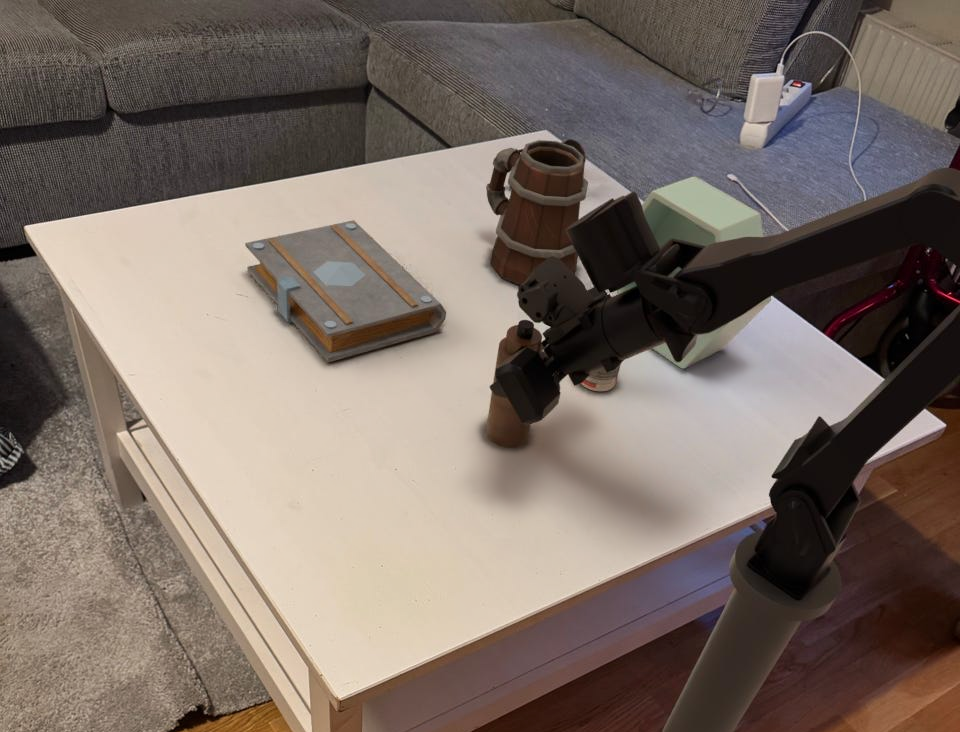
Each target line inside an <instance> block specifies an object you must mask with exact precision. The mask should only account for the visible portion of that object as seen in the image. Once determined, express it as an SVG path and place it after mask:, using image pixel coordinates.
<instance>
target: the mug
mask: <svg viewBox="0 0 960 732" xmlns="http://www.w3.org/2000/svg"><path fill="white" fill-rule="evenodd" d="M522 149H523V150H522V152H520V151H519V150H520V149H518V148H513V147H508V148H504V149H501V150H500V151H499V152H498V153H497V154H496V156H495V157H494V158H493V161H492V166H493V169H492V173H491V176H490V181H489V183H487V184H486V187H485V188H486V197H487V202H488V204H489V206H490V208H491V210H492V212H493V214H494V215H496V216H499V219H498V221H497V225H496V228H495V234H496V238H495V241H494V244H493V247H492V251H491V255H490V263H489V264H490V265H491V266H492V268H493V269H494V270H495V271H496V272H497V273H498V275H500V277H501V278H502V279H504V280H507V281H508V282H512V283H514V284H517V285H519V286H520V285H521V284H523V283H524V282H525V281H526V280H527V278H528V277H529V276H530V274H531V273H532V272H533V270H534V269H535V268H536V267H538V266H539V265H540V264H541V263H543V262H544V261H545V260H546V259H548V258H549V257H551V256H554V257H557V258H559V259H560V260H561V261H562V262H563V263H564V264H565V265H566V266H567V267H568V268H569V269H570V270H571V271H572V272H573V273H574V274H575V275H576V269H577V265H578V260H579V256H578V254H577V252H576V250H575V249H574V247H573V245H572V243H571V241H570V239H569V237H568V235H567V233H566V231H565V230H566V229H567V228H568V227H569V226H570V225H572V224H573V223H574V222H576V221H577V220H579V219H580V209H581V202H583V201H585V200H586V197H587V192H588V187H589V182H588V181H589V180H587V179H586V178H585V177H584V176H585V165H586V161H585V162H584V161H583V159H584V156H583V155H582V154H581V153H579V152H578V151H577V150H576V149H575V148H574V147H572V146H569V145H566V144H563V143H561V142H560V141H558V140H547V139H546V140H544V139H537V140H535V141H531V142H528V143H525V145H524V147H523V148H522ZM508 173H509V175H508ZM507 176H508V179H507ZM506 179H507V185H508V187H509V188H510V187H511V188H512V189H511V192H510V196H509V197H507V196H506V186H505V183H506Z"/></svg>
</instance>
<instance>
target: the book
mask: <svg viewBox="0 0 960 732" xmlns="http://www.w3.org/2000/svg"><path fill="white" fill-rule="evenodd" d="M244 245H245V248H246V249H248V251H249V252H250V253H251V254H252V255H253V256H254V257H255V259H256V260H257V261H258V262H259V263H258V264H254V265H249V266H247V272H248V274H249V275H251V277H252V278H253V279H254V280H255V281H256V282H257V284H258V285H259V286H260V287H261V288H262V289H263V291H265V293H266V294H267V296H269V297H270V298H271V300H272V301H273V302H274V303H275V304H276V305H277V306H278V313H279V314H280V315H281V317H282V318H283V319H284V320H285V321H286V323H288V324H292V323H293V325H294V326H295V327H296V328H297V329H298V330H299V331H300V332H301V333H302V334H303V336H304V337H305V338H306V339H307V341H309V343H311V345H312V346H313V347H314V348H315V349H316V351H318V353H319V354H320V355H321V356H322V358H324V359H325V361H326V362H328V363H331V362H335V361H339V360H341V359H342V360H343V359H345V358H349V357H352V356H357V355H359V354H364V353H367V352H370V351H373V350H378V349H381V348H384V347H388V346H391V345H395V344H398V343H402V342H405V341H410V340H413V339H416V338H420V337H423V336H427V335H430V334H434V333H437V332H439V331H440V329H441V328H442V327H443V324H444V323H445V321H446V319H447V310H446V308H444V306H443V305H442V303H441V302H440V301H439V300H438V299H437V298H436V297H435V296H434V295H433V294H432V293H430V291H428V289H426V287H424V286H423V285H422V284H421V283H420V282H419V281H418V280H417V279H416V278H415V277H414V276H413V275H412V274H411V273H409V271H408V270H406V269H405V267H404V266H403V265H401V264H400V263H399V262H398V261H397V260H396V259H395V258H394V257H393V256H392V255H391V254H390V253H389V252H388V251H386V249H385V248H384V247H382V246H381V244H379V243H378V241H376V240H375V239H374V238H373V237H372V236H371V234H369V233H368V232H367V231H366V230H365V229H364V228H363V227H362V226H361V225H360V224H359V223H358V222H357V221H356V220H355V219H352V220H348V221H343V222H337V223H335V224H329V225H324V226H320V227H315V228H310V229H305V230H300V231H295V232H291V233H287V234H282V235H277V236H272V237H267V238H263V239H258V240H253V241H248V242H245V243H244Z"/></svg>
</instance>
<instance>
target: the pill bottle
mask: <svg viewBox="0 0 960 732" xmlns="http://www.w3.org/2000/svg"><path fill="white" fill-rule="evenodd" d="M621 365H622V363H621V364H620V365H619V366H618V367H617V368H616V369H615V370H613V371H610V372H608V373H607V372H606V371H605V369H604V368H603V369H601V370H598V371H596V372H593V373H591V374H590V375H589V376H588V377H587V378H586V379H585V380H584V381H583V382H582V383H580V385H581V386H583V387H584V388H586V389H588V390H591V391H594V392H606V391H607V392H608V391H610V390H612V389H613V388H614V387H615V386H616V383H617V381H618V376H619V373H620V369H621Z"/></svg>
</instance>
